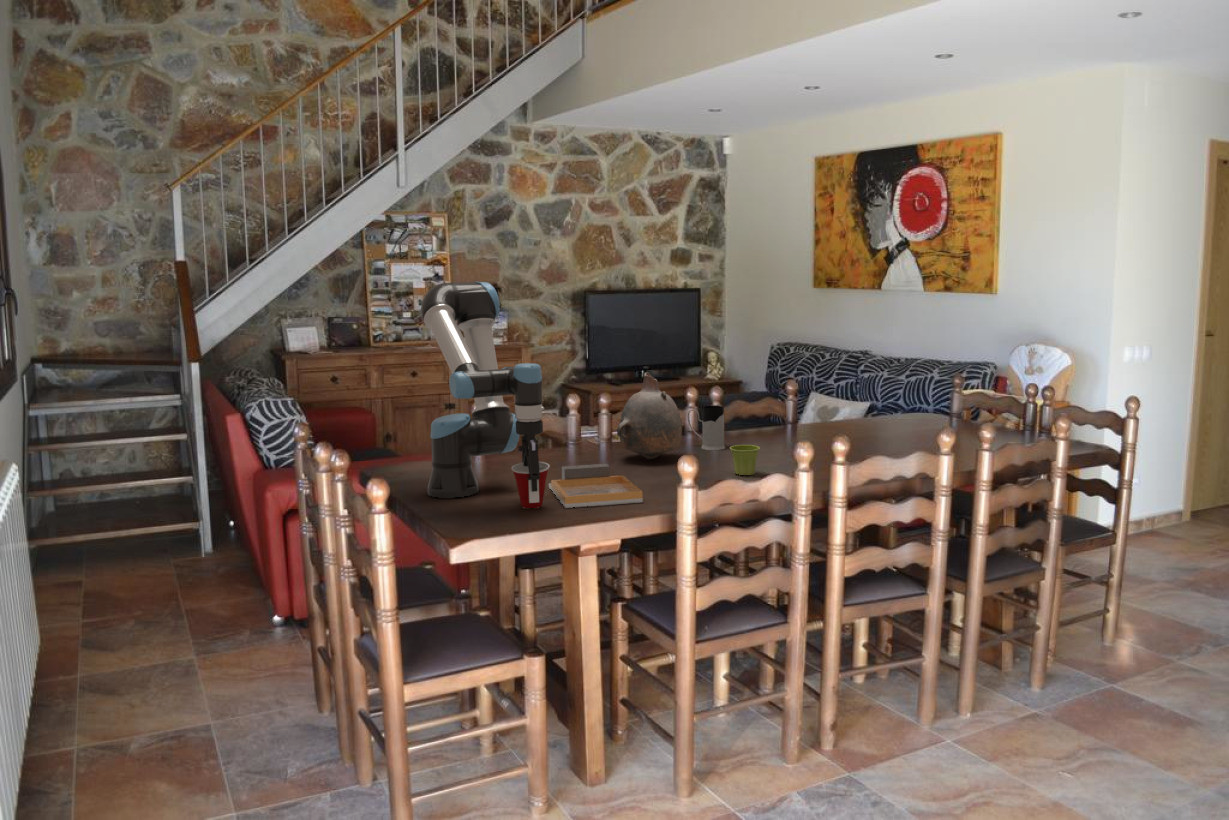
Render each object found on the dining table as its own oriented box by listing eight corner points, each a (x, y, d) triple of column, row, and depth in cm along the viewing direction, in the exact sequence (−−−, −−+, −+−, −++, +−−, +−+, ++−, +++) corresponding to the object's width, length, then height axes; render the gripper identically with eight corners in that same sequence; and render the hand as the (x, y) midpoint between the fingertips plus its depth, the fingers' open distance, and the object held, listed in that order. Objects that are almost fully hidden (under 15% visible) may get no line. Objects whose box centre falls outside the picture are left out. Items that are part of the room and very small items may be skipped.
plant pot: (758, 477, 316) (758, 450, 315) (728, 477, 318) (728, 450, 316) (760, 471, 325) (760, 445, 324) (731, 470, 327) (731, 444, 326)
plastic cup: (507, 511, 279) (506, 468, 278) (518, 501, 290) (517, 461, 288) (545, 512, 277) (544, 469, 276) (555, 502, 288) (553, 461, 286)
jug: (663, 468, 331) (662, 378, 327) (606, 463, 342) (605, 375, 337) (694, 455, 352) (694, 370, 348) (640, 450, 363) (639, 367, 358)
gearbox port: (565, 508, 282) (564, 486, 281) (548, 487, 308) (548, 467, 307) (642, 502, 287) (642, 481, 286) (619, 482, 313) (619, 462, 312)
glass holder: (720, 450, 360) (720, 409, 358) (683, 448, 366) (683, 407, 364) (728, 446, 368) (728, 405, 366) (692, 444, 374) (691, 404, 372)
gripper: (549, 424, 270) (551, 506, 274) (536, 412, 291) (538, 488, 295) (521, 426, 269) (523, 508, 272) (510, 414, 290) (512, 490, 293)
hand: (531, 498), depth 283 cm, fingers closed on plastic cup, 9 cm apart
